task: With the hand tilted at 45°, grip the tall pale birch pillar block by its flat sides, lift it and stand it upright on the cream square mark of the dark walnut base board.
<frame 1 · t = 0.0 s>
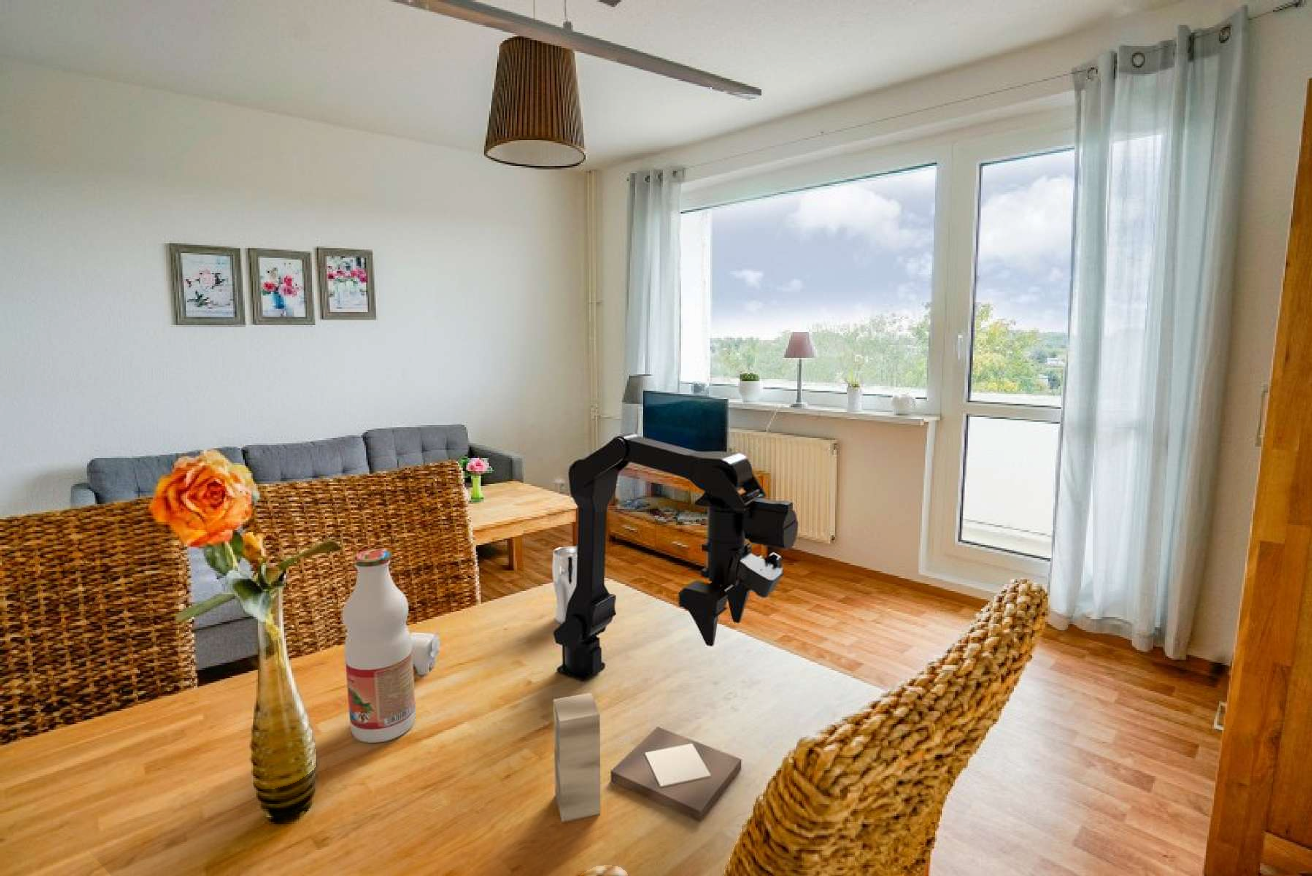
hand: (723, 633, 103), 15 cm above the table, tool pointing down, fingers open, 9 cm apart
birch pillar block: (577, 804, 87), on the table
beer glass: (570, 619, 141), on the table
fruit juice: (384, 727, 103), on the table
walnut base board: (676, 774, 92), on the table
elephant figurine: (421, 667, 121), on the table
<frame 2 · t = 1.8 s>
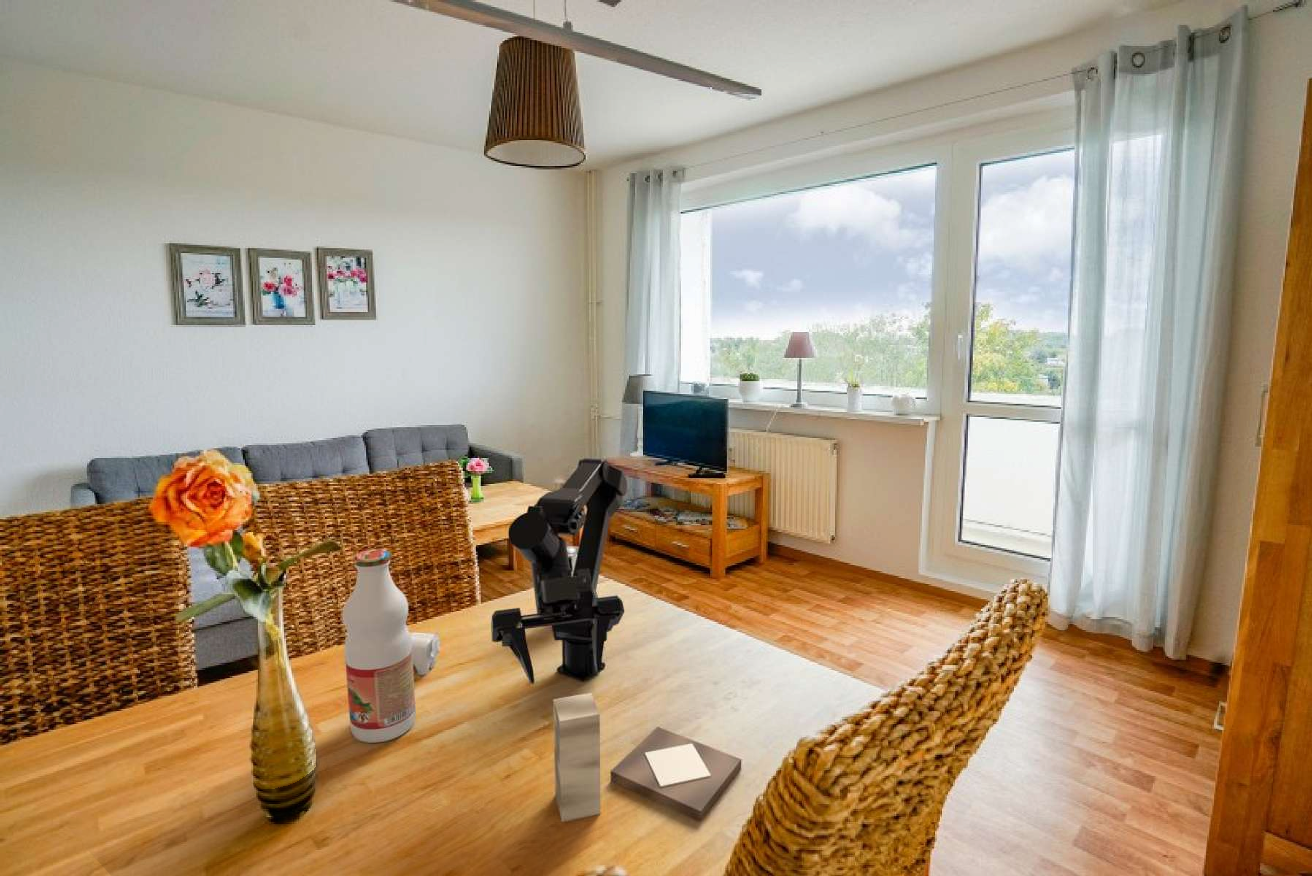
hand: (566, 677, 92), 13 cm above the table, tool tilted 45°, fingers open, 9 cm apart
nothing on the table moved.
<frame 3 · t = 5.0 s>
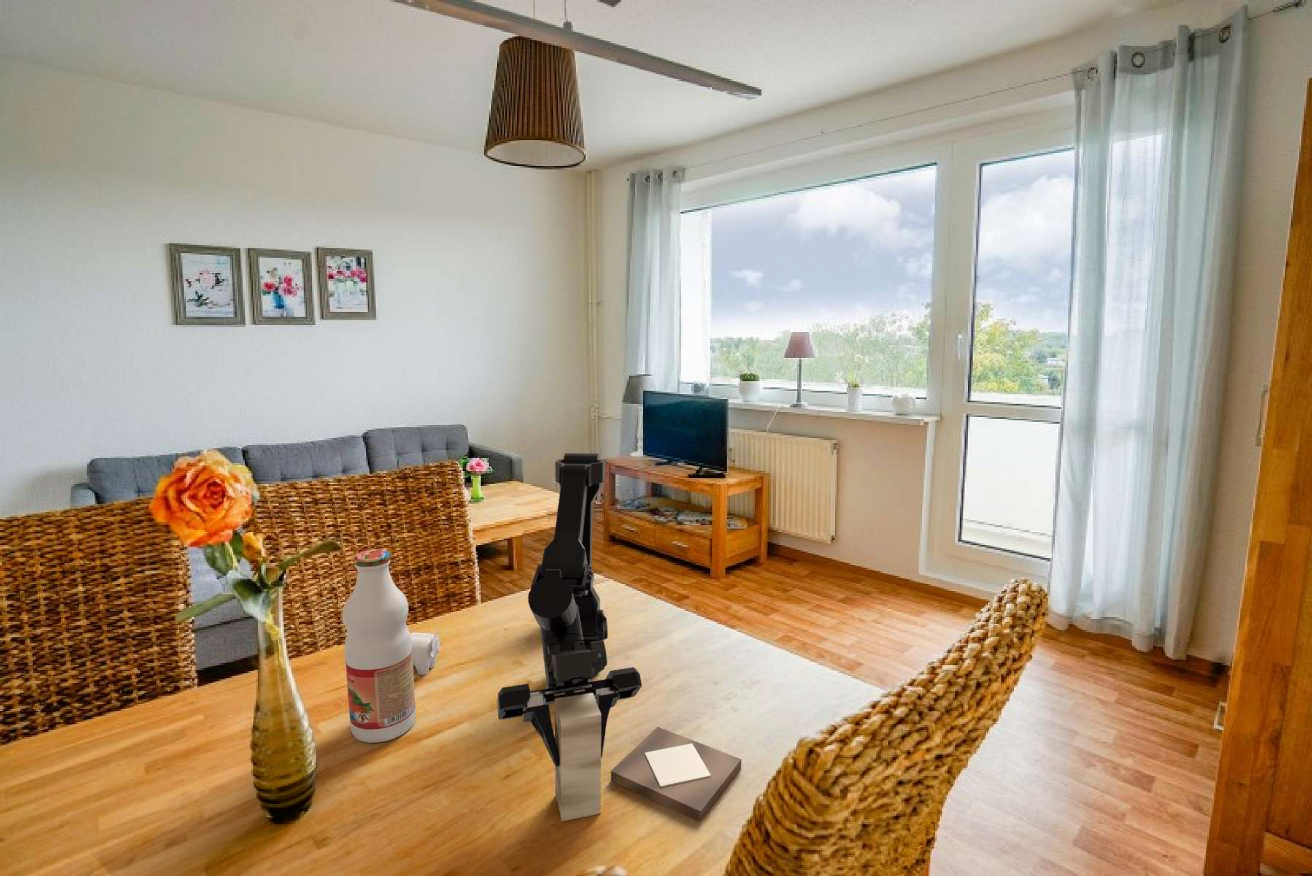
hand: (579, 762, 84), 7 cm above the table, tool tilted 45°, fingers closed on birch pillar block, 5 cm apart
birch pillar block: (577, 804, 87), on the table, touching gripper
everything else where it was.
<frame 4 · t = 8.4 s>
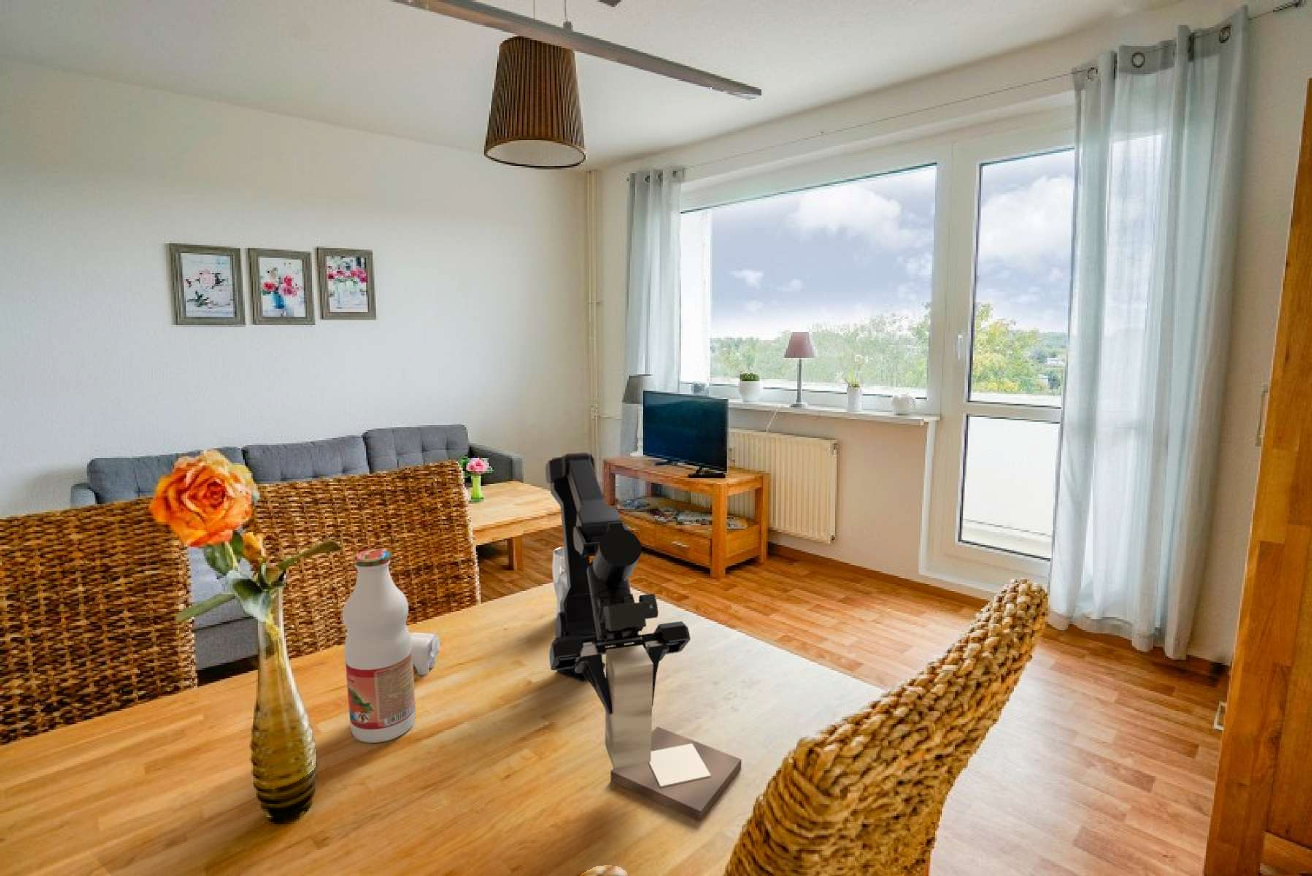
hand: (630, 710, 86), 12 cm above the table, tool tilted 45°, fingers closed on birch pillar block, 5 cm apart
birch pillar block: (627, 753, 89), point 5 cm above the table, touching gripper
everything else where it was.
when the fingers open (9 cm above the table, at t = 11.9 s): birch pillar block stays where it is, resting on walnut base board.
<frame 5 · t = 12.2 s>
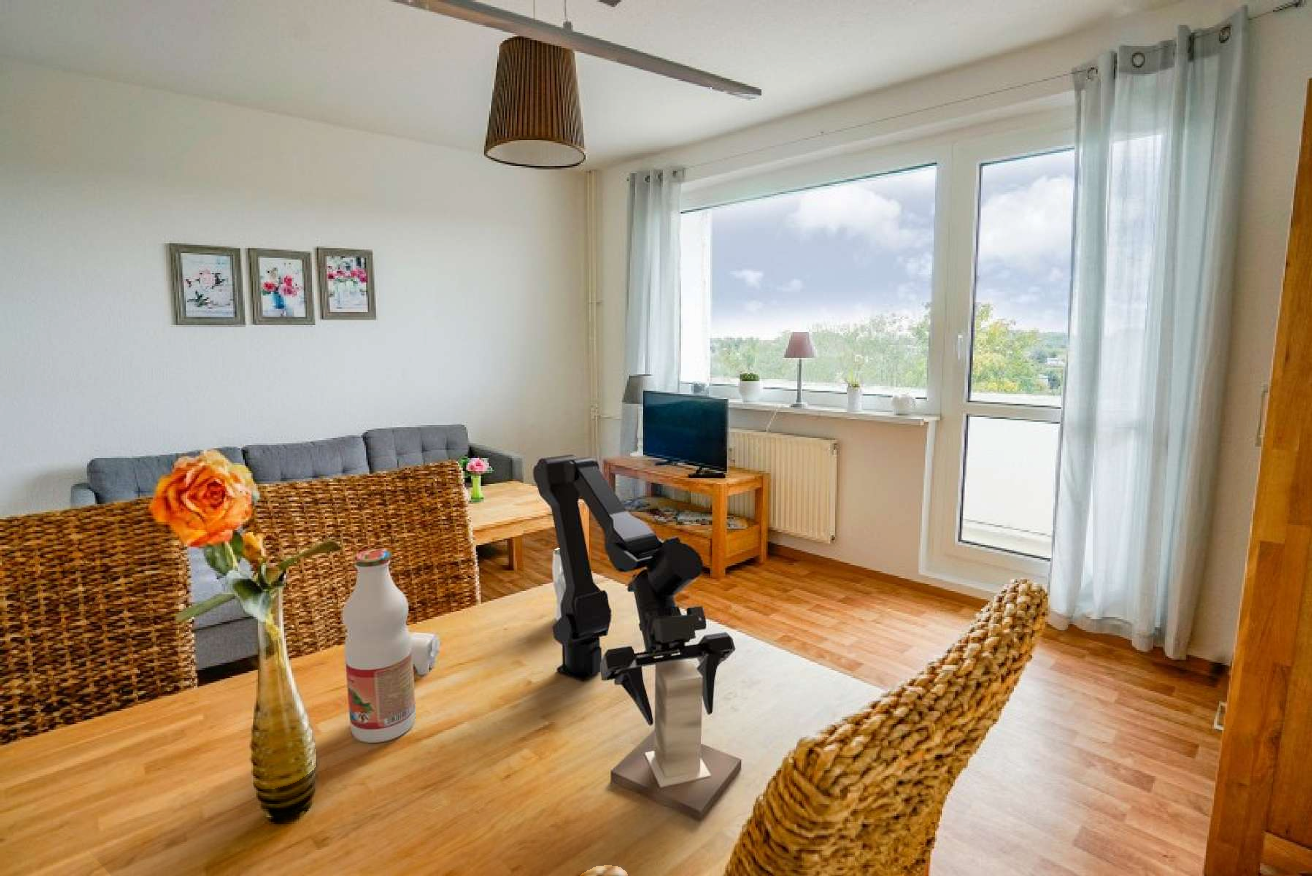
hand: (681, 719, 90), 9 cm above the table, tool tilted 45°, fingers open, 8 cm apart
birch pillar block: (676, 763, 92), point 2 cm above the table, touching walnut base board
everything else where it was.
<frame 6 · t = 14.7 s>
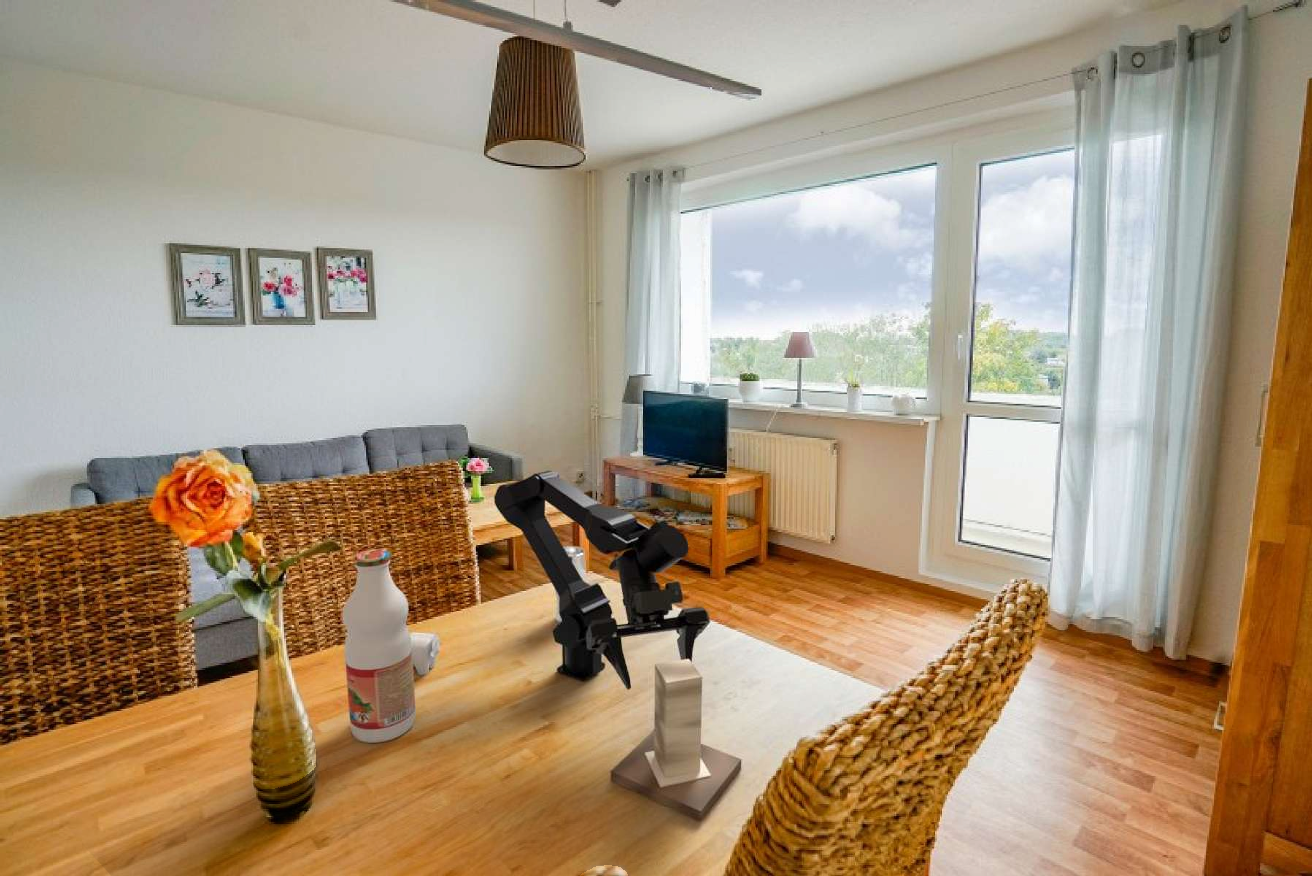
hand: (659, 684, 98), 9 cm above the table, tool tilted 45°, fingers open, 9 cm apart
nothing on the table moved.
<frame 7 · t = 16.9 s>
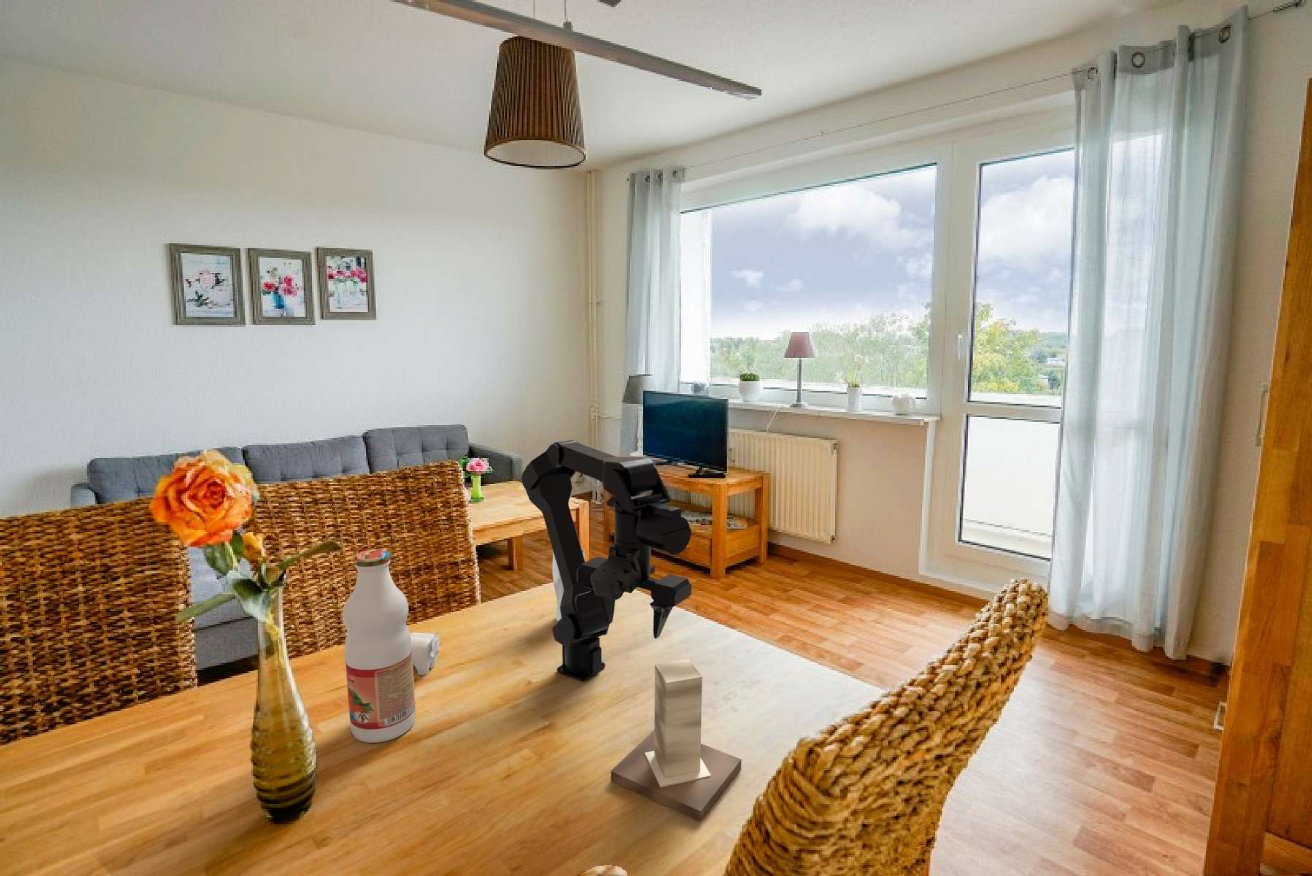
hand: (632, 630, 107), 13 cm above the table, tool pointing down, fingers open, 9 cm apart
nothing on the table moved.
at the end: birch pillar block 0.1 cm off-centre on the walnut base board, point 1.7 cm above the walnut base board's base; birch pillar block tilted 0°; the gripper is holding nothing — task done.
